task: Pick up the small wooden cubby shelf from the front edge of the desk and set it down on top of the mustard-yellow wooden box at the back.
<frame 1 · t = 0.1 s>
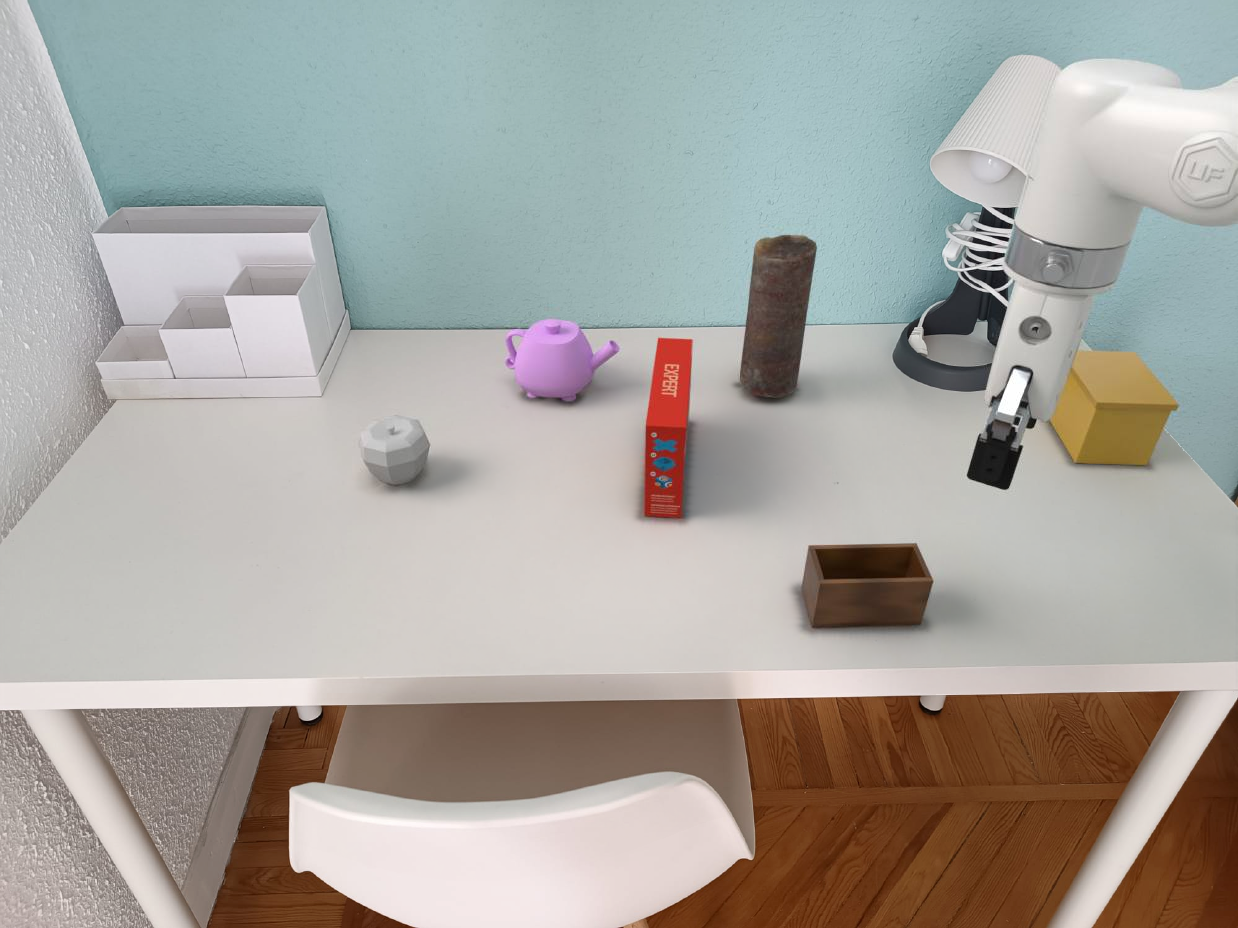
hand: (1001, 451, 71), 17 cm above the table, tool pointing down, fingers open, 9 cm apart
candle: (767, 391, 112), on the table
teapot: (562, 388, 113), on the table
toy box: (667, 467, 99), on the table
box: (1093, 436, 103), on the table
wooden cubby shelf: (859, 606, 81), on the table
apple: (400, 476, 98), on the table
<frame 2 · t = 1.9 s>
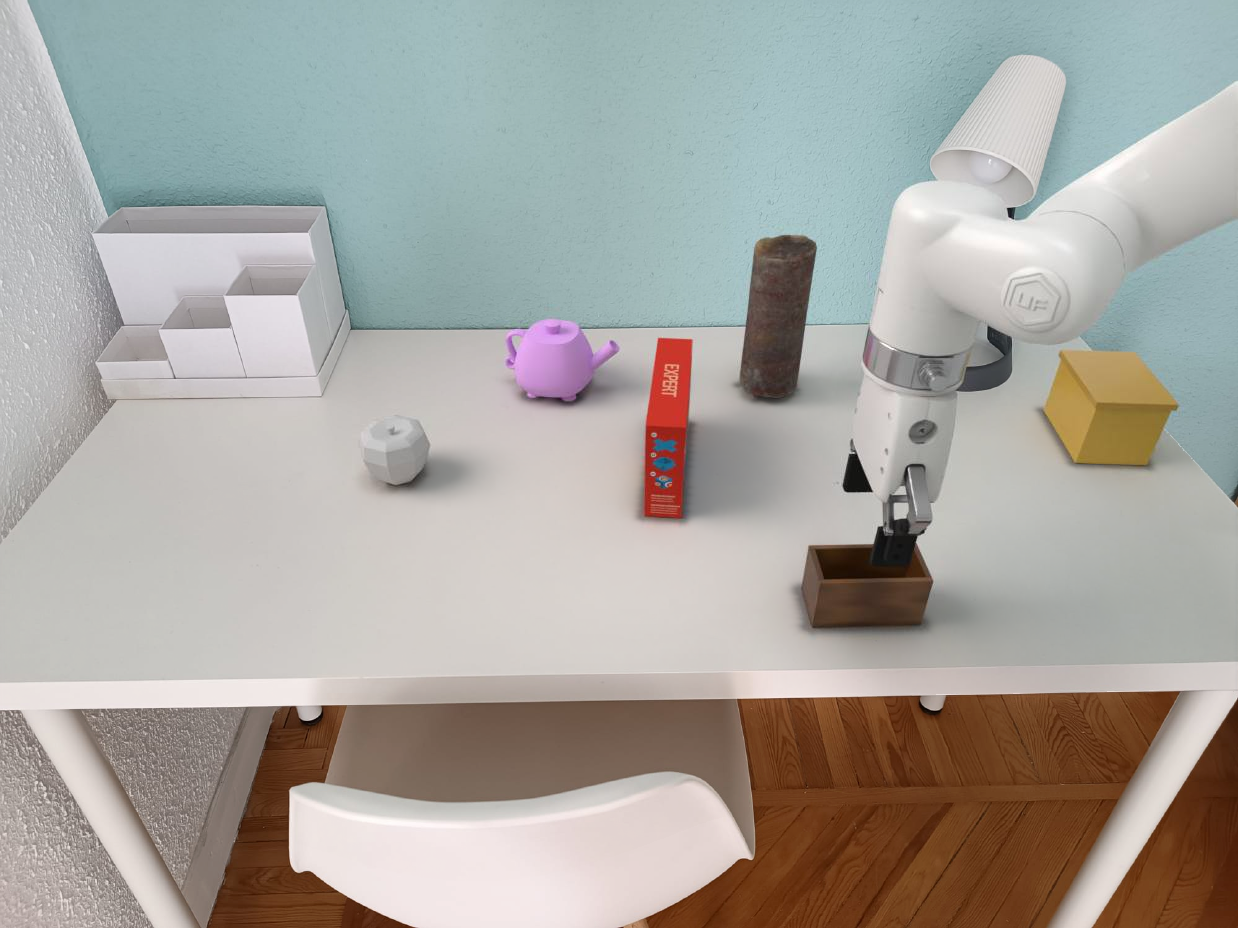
hand: (873, 525, 76), 10 cm above the table, tool pointing down, fingers open, 9 cm apart
nothing on the table moved.
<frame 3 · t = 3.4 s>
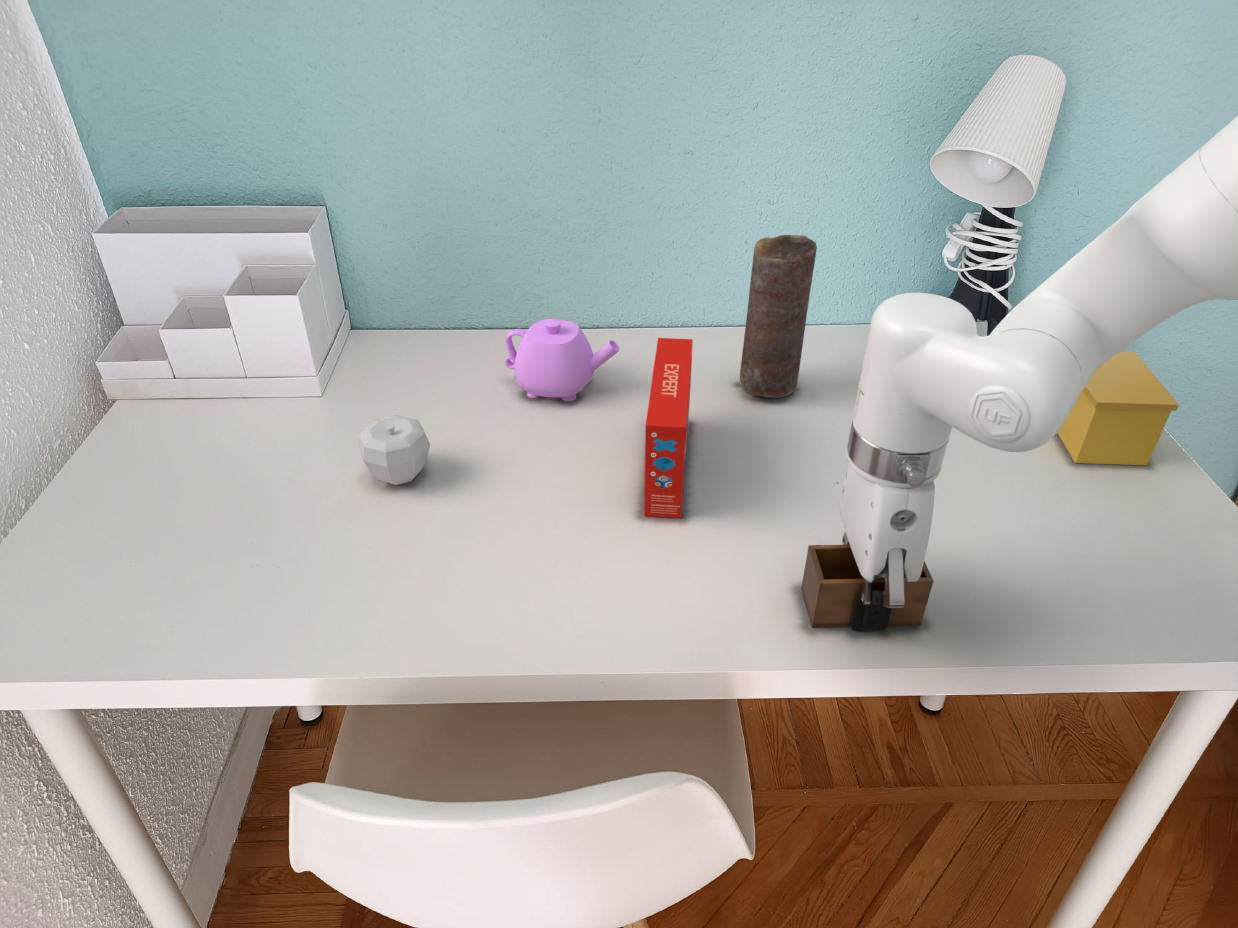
hand: (860, 603, 81), 0 cm above the table, tool pointing down, fingers closed on wooden cubby shelf, 5 cm apart
wooden cubby shelf: (859, 606, 81), on the table, touching gripper
everything else where it was.
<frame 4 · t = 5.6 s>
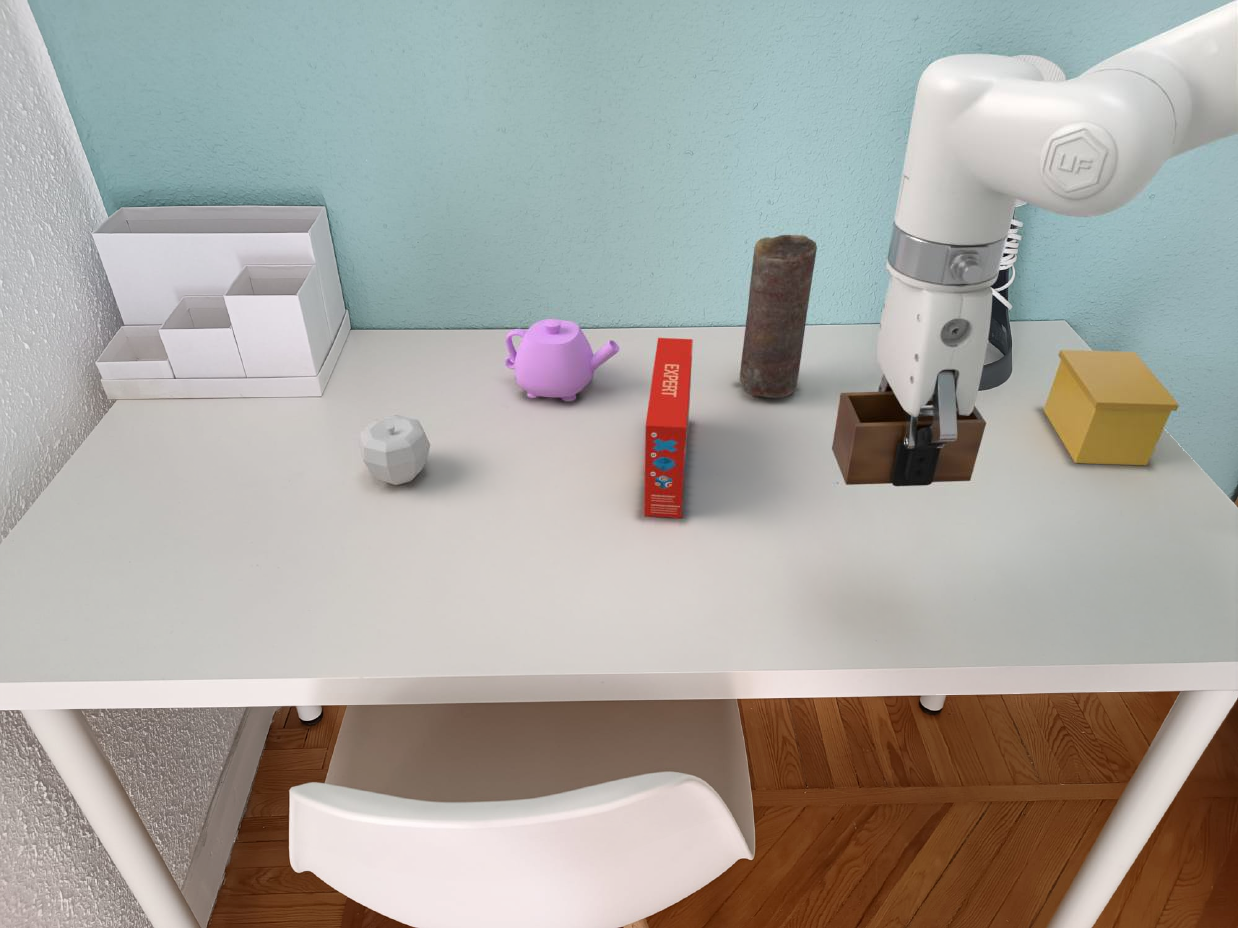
hand: (900, 460, 71), 17 cm above the table, tool pointing down, fingers closed on wooden cubby shelf, 5 cm apart
wooden cubby shelf: (899, 464, 72), point 16 cm above the table, touching gripper
everything else where it was.
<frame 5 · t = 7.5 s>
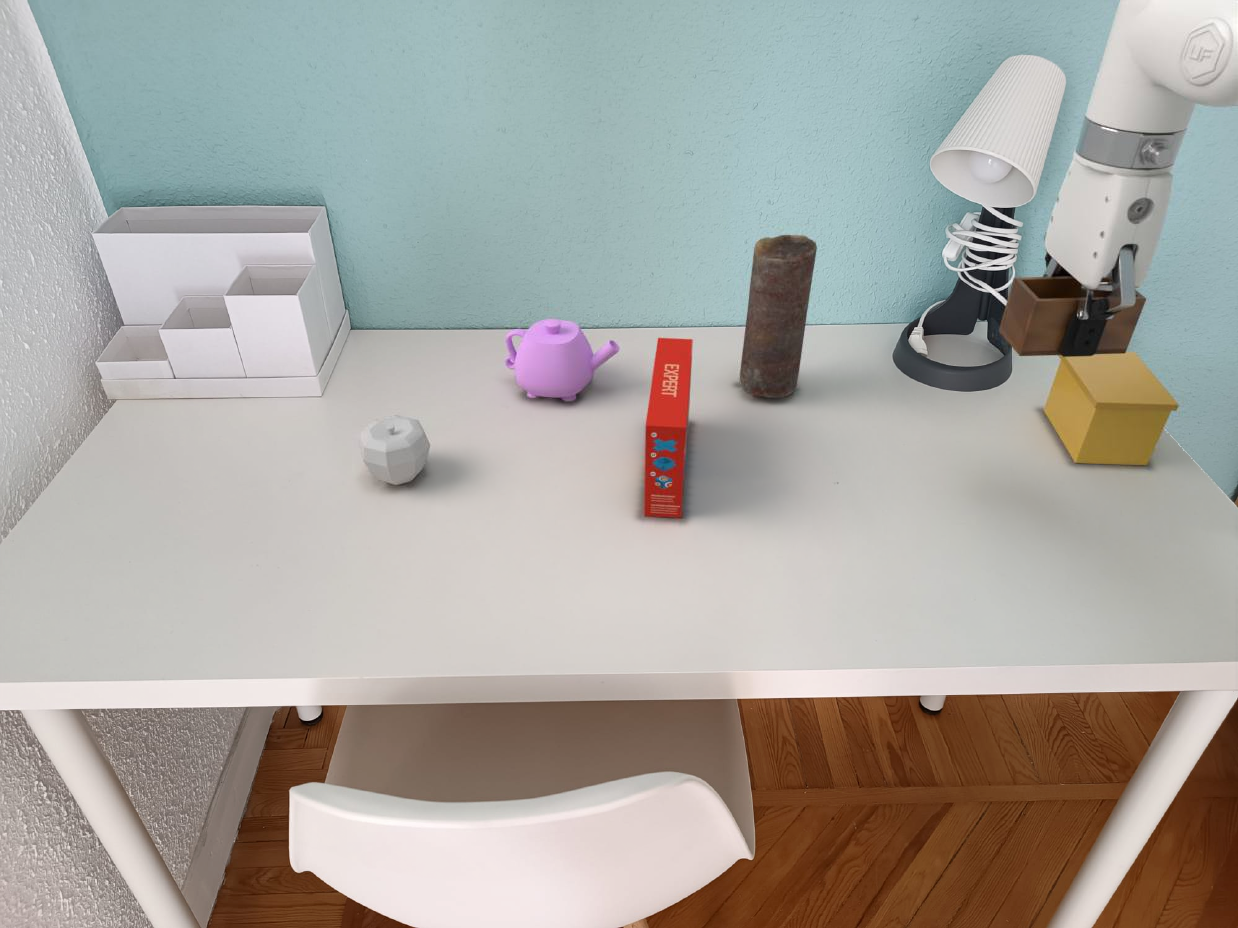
hand: (1062, 338, 83), 19 cm above the table, tool pointing down, fingers closed on wooden cubby shelf, 5 cm apart
wooden cubby shelf: (1060, 342, 83), point 19 cm above the table, touching gripper
everything else where it was.
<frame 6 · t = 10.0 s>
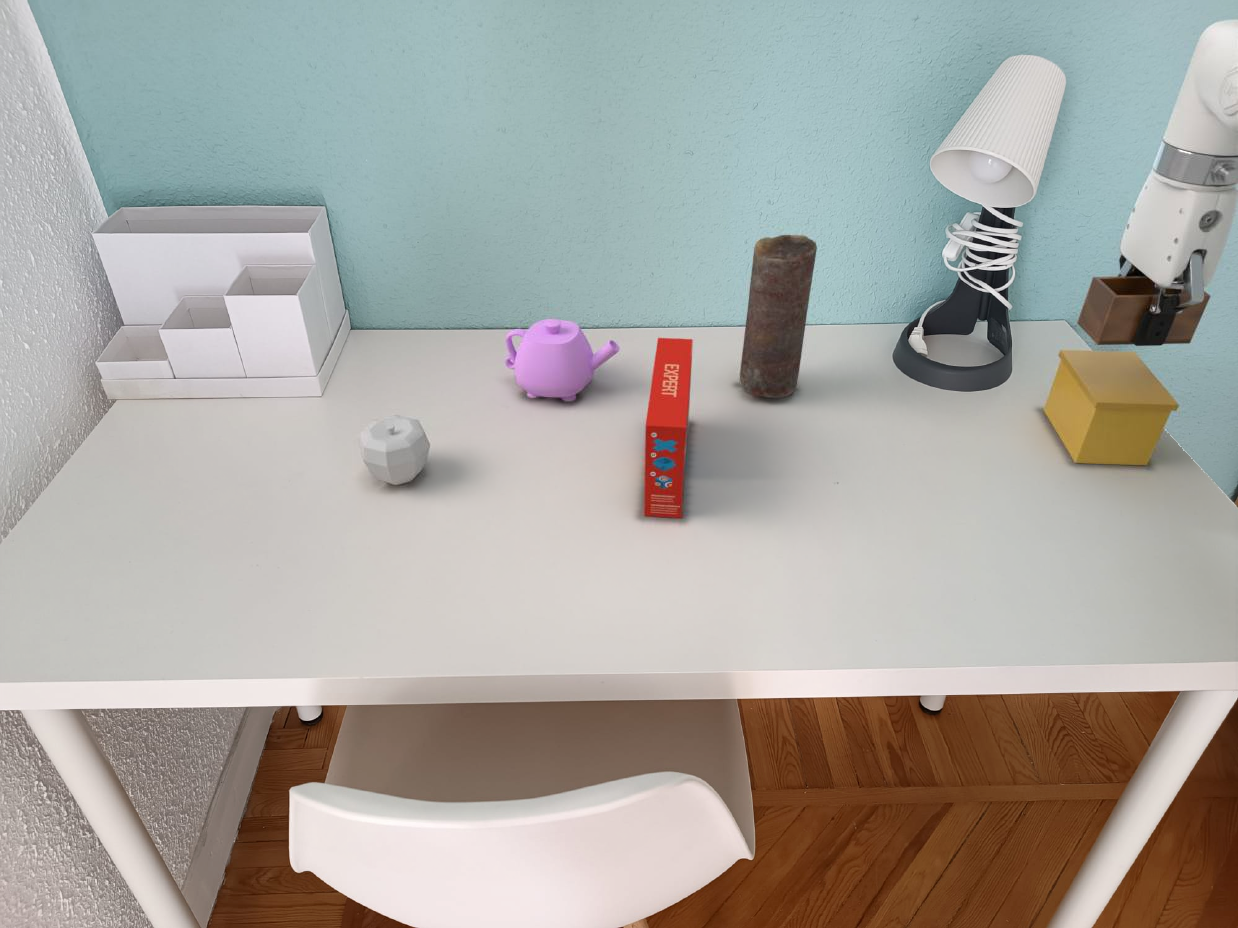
hand: (1134, 329, 95), 14 cm above the table, tool pointing down, fingers closed on wooden cubby shelf, 5 cm apart
wooden cubby shelf: (1132, 333, 95), point 14 cm above the table, touching gripper
everything else where it was.
when the fingers open (9 cm above the table, at t = 11.7 s): wooden cubby shelf stays where it is, resting on box.
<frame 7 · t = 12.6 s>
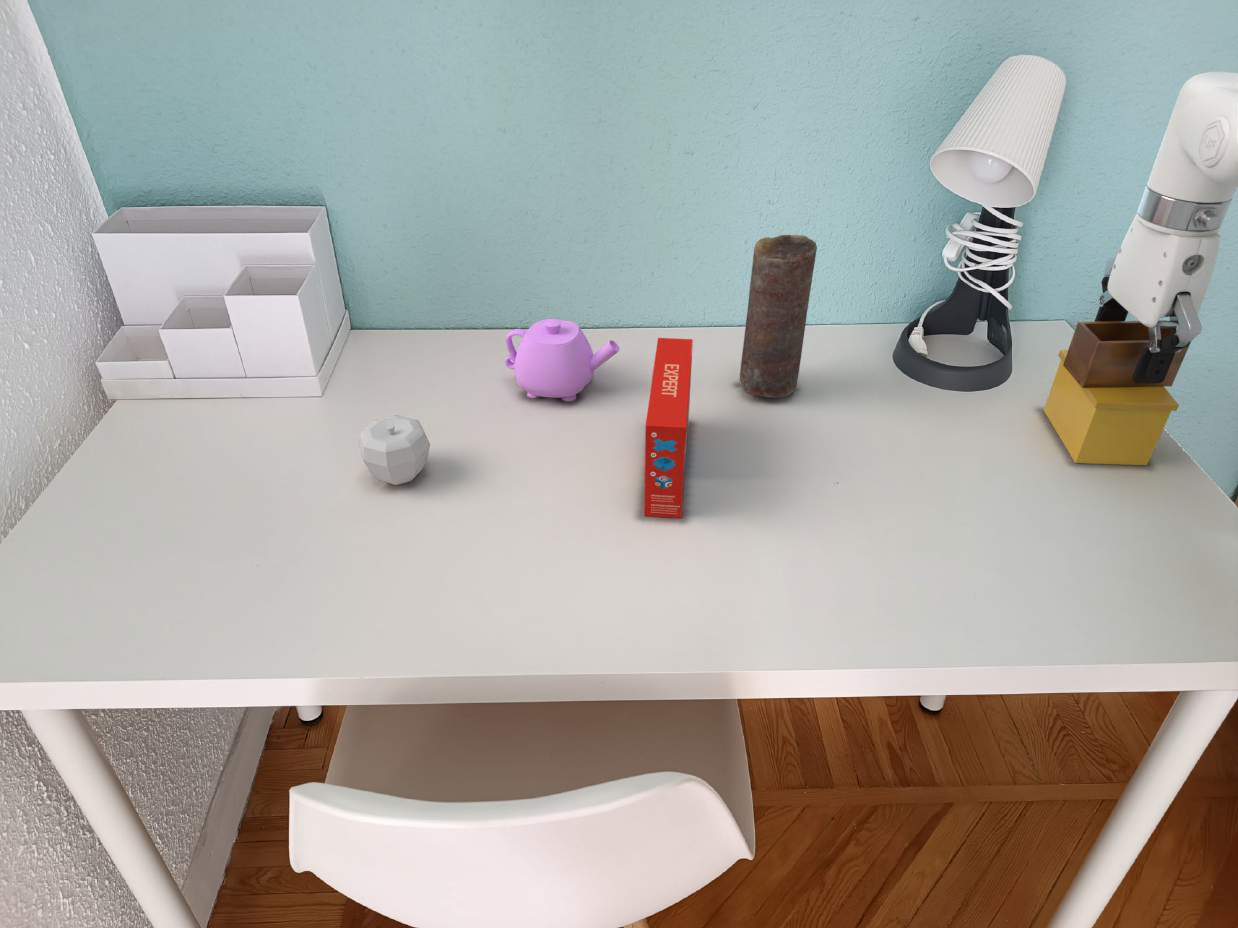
hand: (1124, 359, 97), 11 cm above the table, tool pointing down, fingers open, 9 cm apart
wooden cubby shelf: (1116, 375, 99), point 8 cm above the table, touching box
everything else where it was.
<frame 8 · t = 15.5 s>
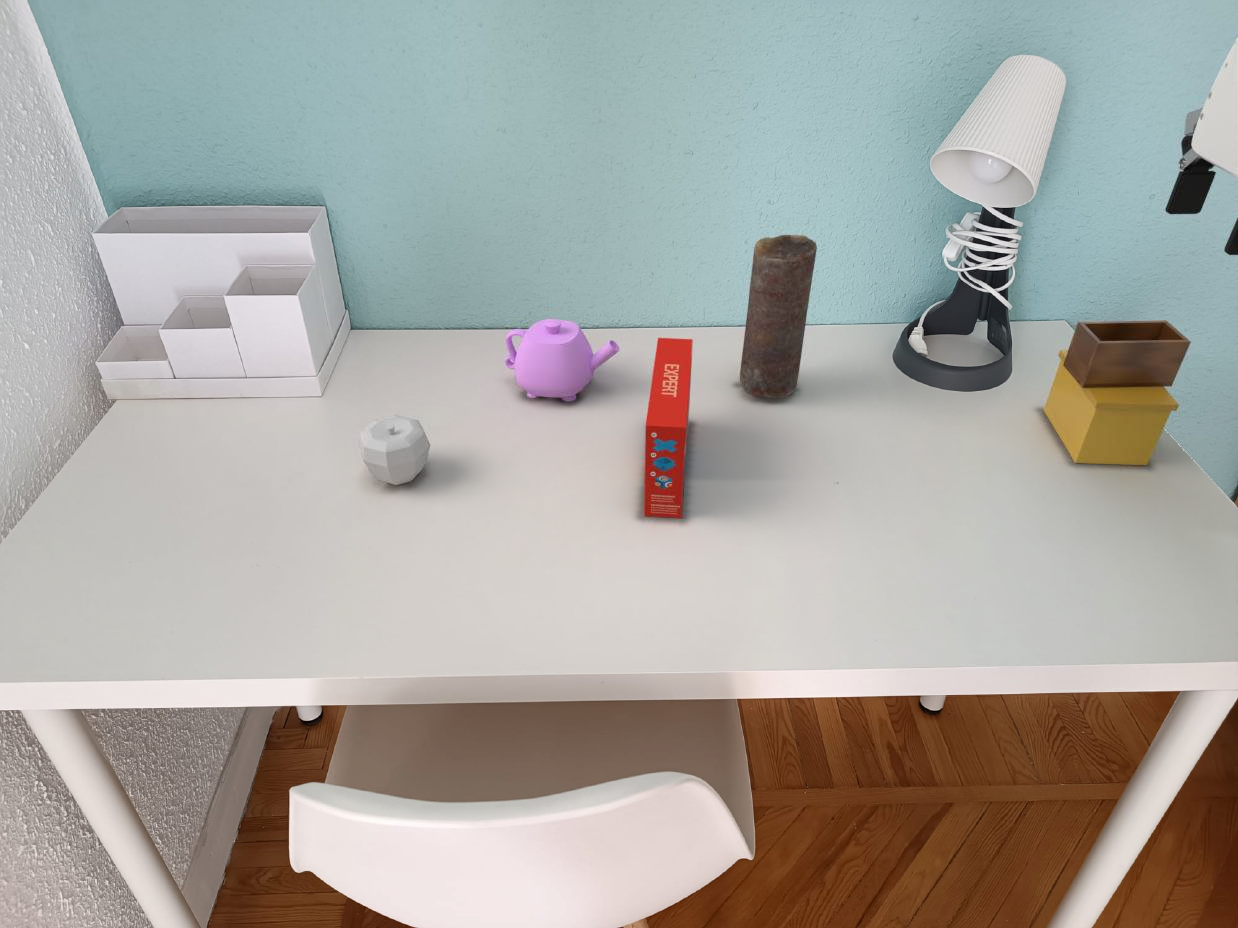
hand: (1210, 232, 81), 28 cm above the table, tool pointing down, fingers open, 9 cm apart
nothing on the table moved.
at the end: wooden cubby shelf inside the target area on the box (0.1 cm from its centre), point 8.4 cm above the box's base; wooden cubby shelf tilted 0°; the gripper is holding nothing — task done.
